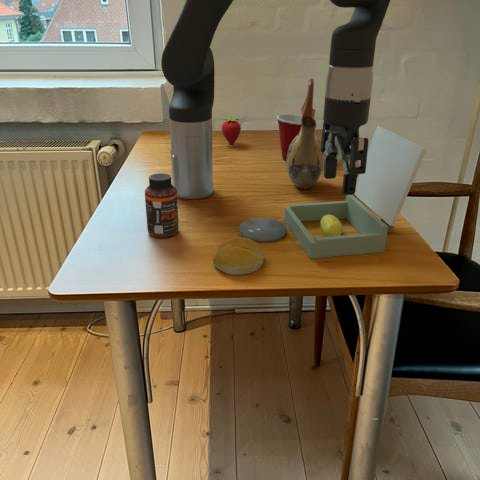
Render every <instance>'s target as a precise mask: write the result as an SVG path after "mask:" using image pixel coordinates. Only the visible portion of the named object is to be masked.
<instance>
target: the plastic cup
mask: <svg viewBox="0 0 480 480" xmlns="http://www.w3.org/2000/svg"><path fill="white" fill-rule="evenodd" d="M276 119H277V125H278V130H279V131H278V132H279V133H278V134H279V139H280V140H279V143H280V150H281V157H282V160H283V161H285V162H286V159H287V152H288V149H289V146H290V144H291V142H292V140H293V139H294V138H295V137H296V136H297V135H298V134H299V132H300V130H301V119H302V114H295V113H281V114H278V115H277V116H276ZM314 120H315V121H316V122H317V120H316V119H314Z"/></svg>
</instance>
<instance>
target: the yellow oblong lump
mask: <svg viewBox="0 0 480 480" xmlns="http://www.w3.org/2000/svg"><path fill="white" fill-rule="evenodd" d="M319 226H320V231H322V233H323V237H330V236H342V233H343V231H344V226H343V224H342V222H341V220H340V219H337V218H336V217H335V216H333V215H330V214H328V215H325V216H324V217H323V218H322V220H320V225H319Z"/></svg>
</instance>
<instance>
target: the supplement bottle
mask: <svg viewBox="0 0 480 480" xmlns="http://www.w3.org/2000/svg"><path fill="white" fill-rule="evenodd" d="M171 176H172V175H170V174H169V173H160V172H159V173H158V172H157V173H153V174H151V175H149V177H148V183H149V185H148V186H147V187H146V188H145V190H144V202H145V213H146V214H145V215H146V226H147V233H148V234H149V235H150V236H152V237H154V238H160V239H161V238H162V239H163V238H165V239H166V238H170V237H173V236H175V235H176V234H177V233H178V232H179V227H180V226H179V214H178V213H179V211H178V210H179V209H178V208H179V206H178V203H179V202H178V197H177V190H176V188H175V187H174V186H173V183H172V177H171Z"/></svg>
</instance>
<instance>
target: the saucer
mask: <svg viewBox="0 0 480 480" xmlns="http://www.w3.org/2000/svg"><path fill="white" fill-rule="evenodd" d="M286 233H287V227H286V225H285V224H284V223H283V222H281V221H280V220H276V219H273V218H268V217H267V218H266V217H255V218H250V219H246V220H244V221H243V222H241V223H240V225H239V234H240V235H241V237H245V238H249V239H251V240H253V241H255V242H257V243H258V242H259V243H260V242H261V243H267V242H268V243H269V242H270V243H271V242H275V241H278V240H281V239H283V237H284V238H285V235H286Z"/></svg>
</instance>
